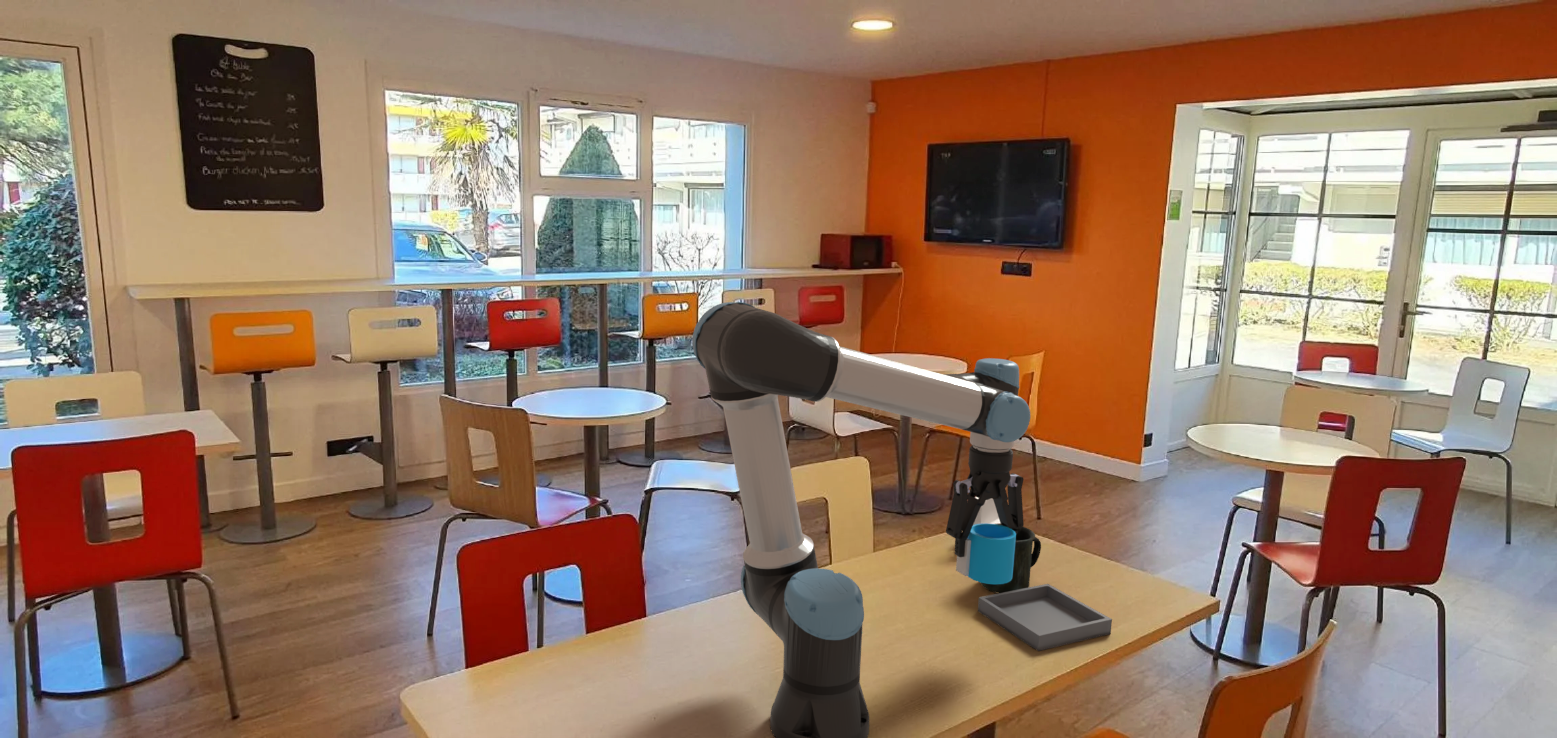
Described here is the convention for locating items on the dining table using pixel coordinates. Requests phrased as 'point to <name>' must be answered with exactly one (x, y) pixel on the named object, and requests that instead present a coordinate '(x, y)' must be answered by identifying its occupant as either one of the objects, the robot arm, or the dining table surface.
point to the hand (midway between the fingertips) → (982, 569)
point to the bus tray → (1044, 616)
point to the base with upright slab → (987, 513)
